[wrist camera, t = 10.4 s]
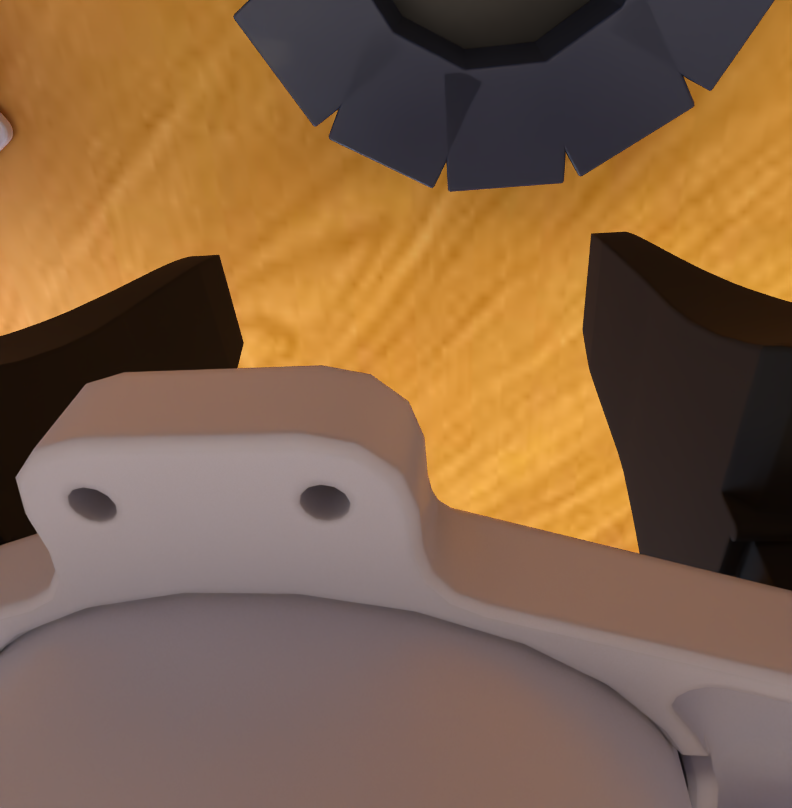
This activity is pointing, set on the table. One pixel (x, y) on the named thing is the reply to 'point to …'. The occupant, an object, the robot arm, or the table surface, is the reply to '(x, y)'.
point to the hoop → (496, 82)
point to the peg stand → (488, 19)
